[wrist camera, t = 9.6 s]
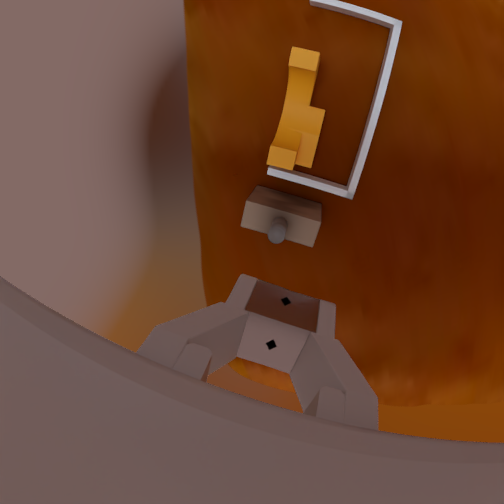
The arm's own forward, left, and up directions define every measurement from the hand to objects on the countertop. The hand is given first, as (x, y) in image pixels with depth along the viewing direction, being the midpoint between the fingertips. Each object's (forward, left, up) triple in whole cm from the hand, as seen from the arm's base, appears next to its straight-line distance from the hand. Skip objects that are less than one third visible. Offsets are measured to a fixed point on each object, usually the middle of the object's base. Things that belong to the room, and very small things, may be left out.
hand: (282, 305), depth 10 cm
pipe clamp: (+2, -4, -29) cm, 30 cm away
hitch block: (+1, +7, -29) cm, 30 cm away
